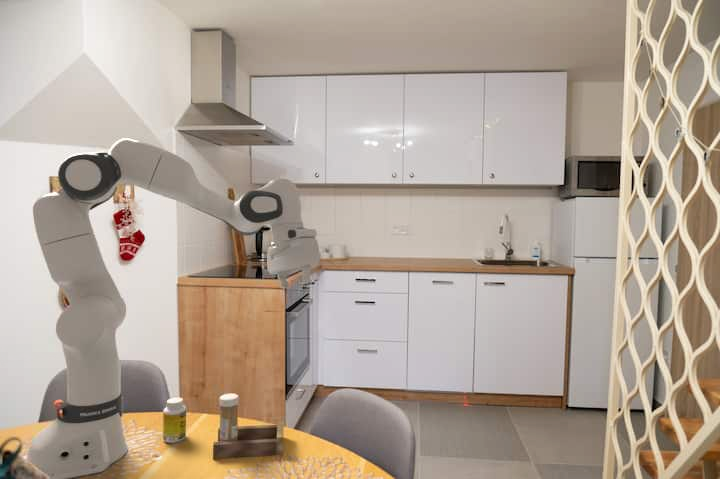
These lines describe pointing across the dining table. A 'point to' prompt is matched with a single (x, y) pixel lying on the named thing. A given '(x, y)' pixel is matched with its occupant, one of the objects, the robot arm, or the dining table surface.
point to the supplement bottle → (174, 421)
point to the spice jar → (228, 417)
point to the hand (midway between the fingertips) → (295, 286)
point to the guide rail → (252, 442)
